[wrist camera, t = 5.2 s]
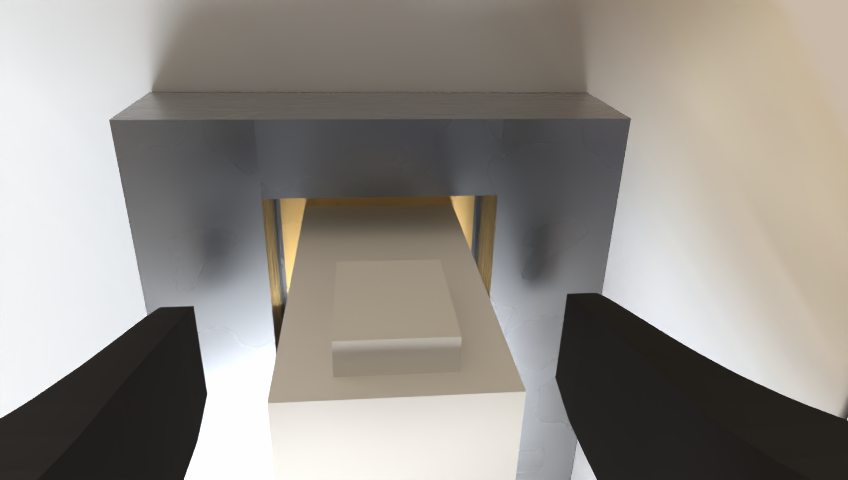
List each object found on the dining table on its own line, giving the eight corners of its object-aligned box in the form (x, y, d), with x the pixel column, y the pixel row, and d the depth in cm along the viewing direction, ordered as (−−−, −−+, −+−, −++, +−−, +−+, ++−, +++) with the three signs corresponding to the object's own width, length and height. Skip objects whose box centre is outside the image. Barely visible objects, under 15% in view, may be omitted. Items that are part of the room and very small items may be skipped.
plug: (453, 180, 14) (530, 355, 8) (446, 327, 16) (504, 564, 10) (303, 181, 14) (263, 366, 8) (312, 331, 16) (284, 581, 10)
